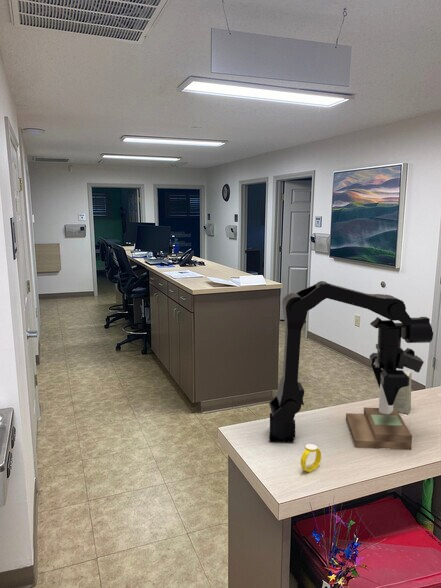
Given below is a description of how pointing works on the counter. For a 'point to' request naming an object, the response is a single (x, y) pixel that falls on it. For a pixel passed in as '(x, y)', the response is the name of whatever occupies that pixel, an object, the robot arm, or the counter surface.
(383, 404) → the eye dropper bottle
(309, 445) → the watch
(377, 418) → the step riser
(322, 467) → the counter surface
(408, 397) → the skincare box
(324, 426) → the counter surface
